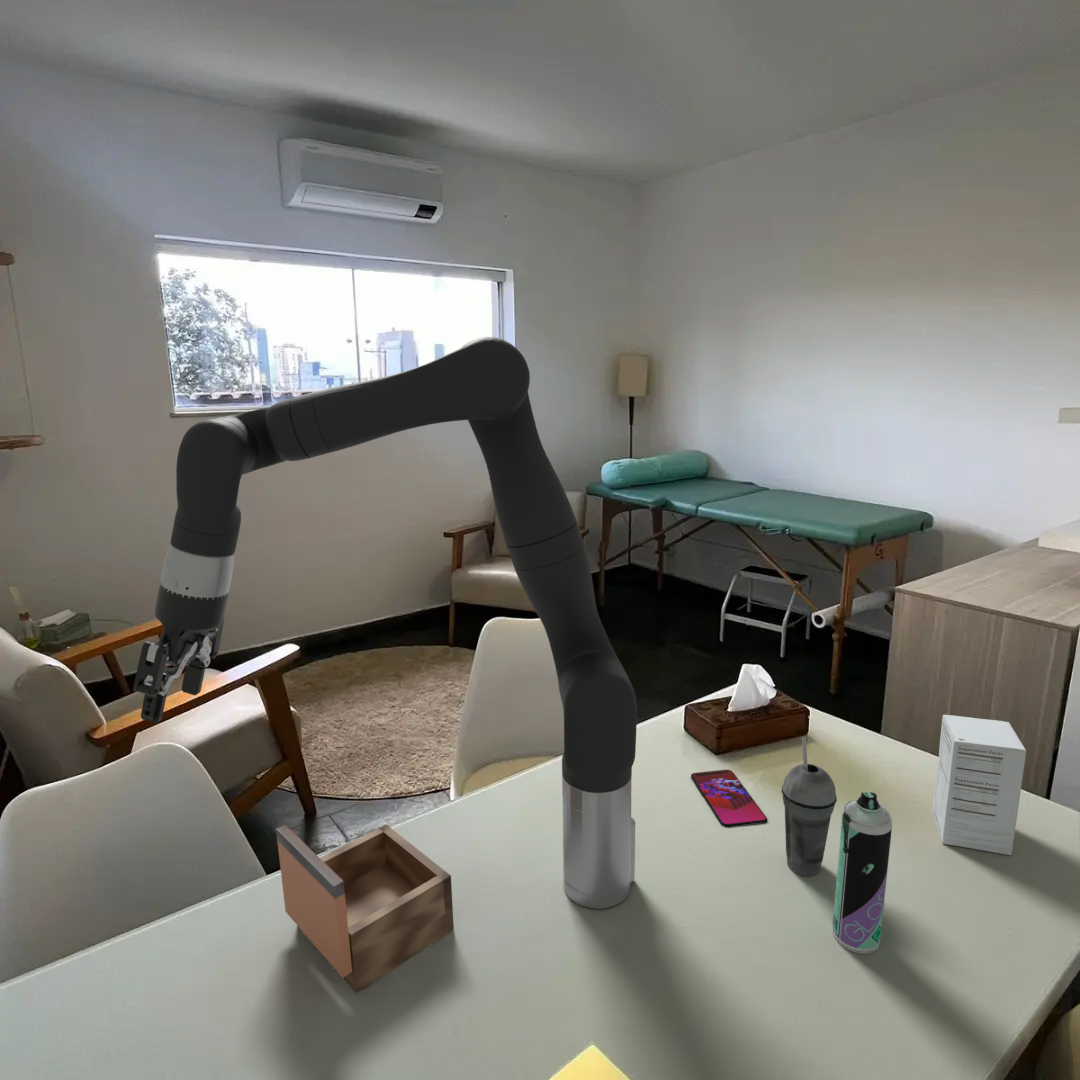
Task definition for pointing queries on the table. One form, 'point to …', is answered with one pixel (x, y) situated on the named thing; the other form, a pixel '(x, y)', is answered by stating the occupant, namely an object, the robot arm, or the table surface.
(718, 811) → the smartphone
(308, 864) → the panel
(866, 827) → the spray can
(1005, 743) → the supplement box
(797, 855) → the beverage cup
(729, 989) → the table surface
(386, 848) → the box
